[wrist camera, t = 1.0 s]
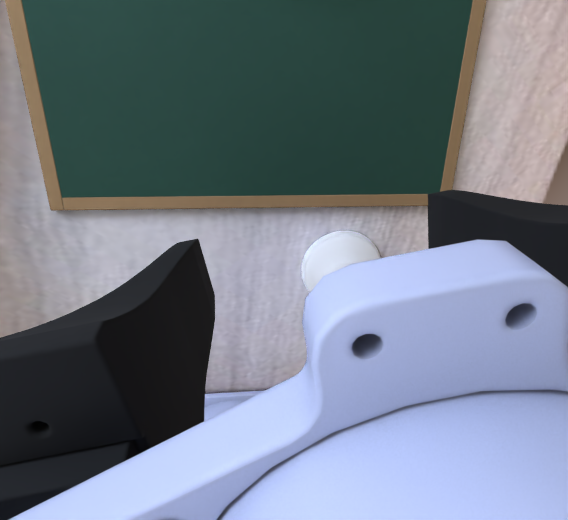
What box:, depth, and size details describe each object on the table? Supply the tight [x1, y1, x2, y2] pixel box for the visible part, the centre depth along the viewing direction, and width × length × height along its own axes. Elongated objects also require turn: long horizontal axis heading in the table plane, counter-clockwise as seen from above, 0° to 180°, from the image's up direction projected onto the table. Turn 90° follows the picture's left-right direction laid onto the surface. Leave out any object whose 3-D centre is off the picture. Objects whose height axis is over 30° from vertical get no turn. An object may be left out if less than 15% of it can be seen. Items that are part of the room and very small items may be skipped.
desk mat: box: [5, 0, 487, 210], centre depth 20 cm, size 17×22×1 cm
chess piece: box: [301, 230, 381, 293], centre depth 21 cm, size 5×5×10 cm
